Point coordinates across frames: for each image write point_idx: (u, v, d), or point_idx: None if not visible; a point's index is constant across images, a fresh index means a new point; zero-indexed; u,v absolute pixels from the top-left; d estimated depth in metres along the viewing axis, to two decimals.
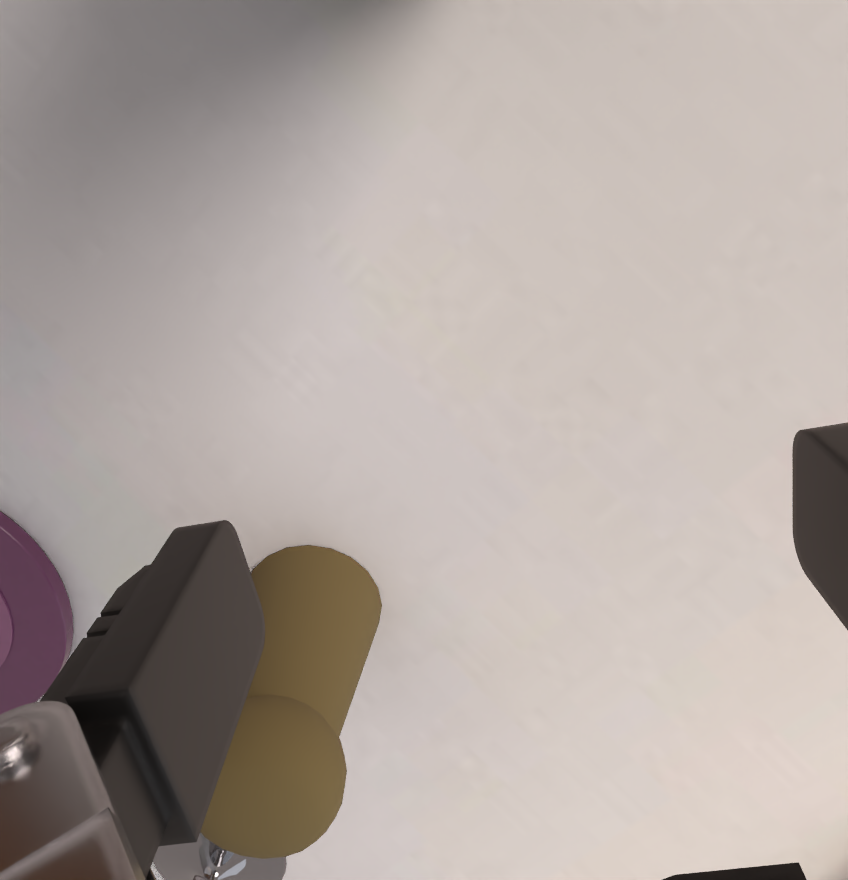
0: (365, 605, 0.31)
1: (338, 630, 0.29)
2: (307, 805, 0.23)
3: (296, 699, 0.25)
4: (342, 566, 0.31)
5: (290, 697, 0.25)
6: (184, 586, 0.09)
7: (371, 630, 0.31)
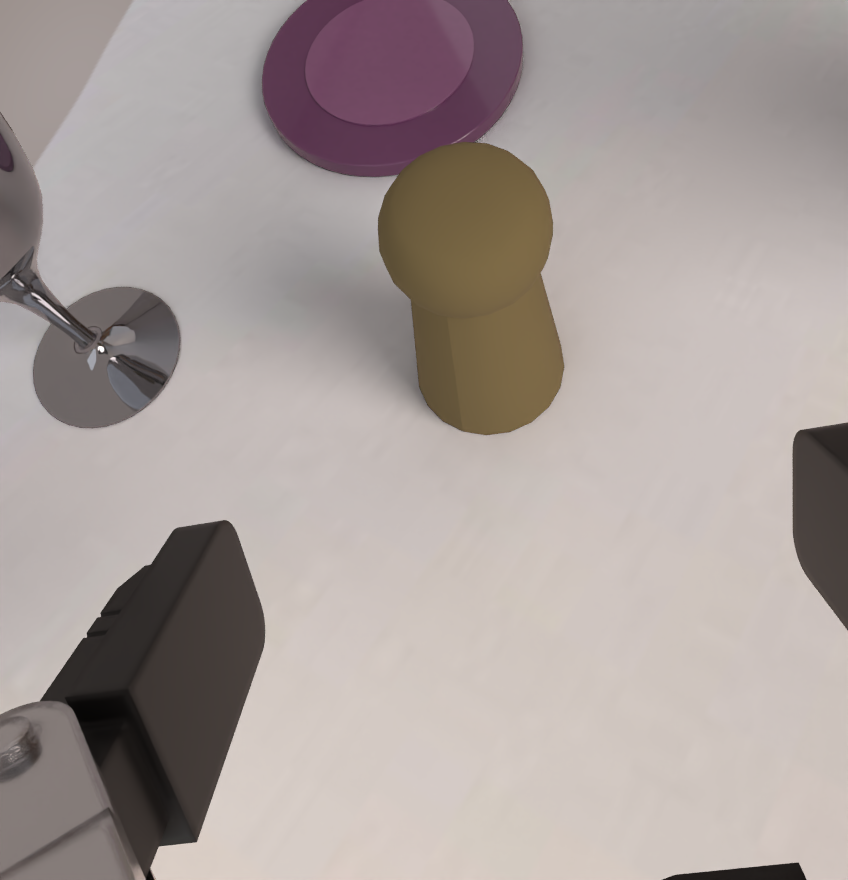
0: (533, 396, 0.29)
1: (542, 345, 0.27)
2: (493, 239, 0.21)
3: None
4: (558, 373, 0.30)
5: None
6: (184, 586, 0.09)
7: (508, 406, 0.28)
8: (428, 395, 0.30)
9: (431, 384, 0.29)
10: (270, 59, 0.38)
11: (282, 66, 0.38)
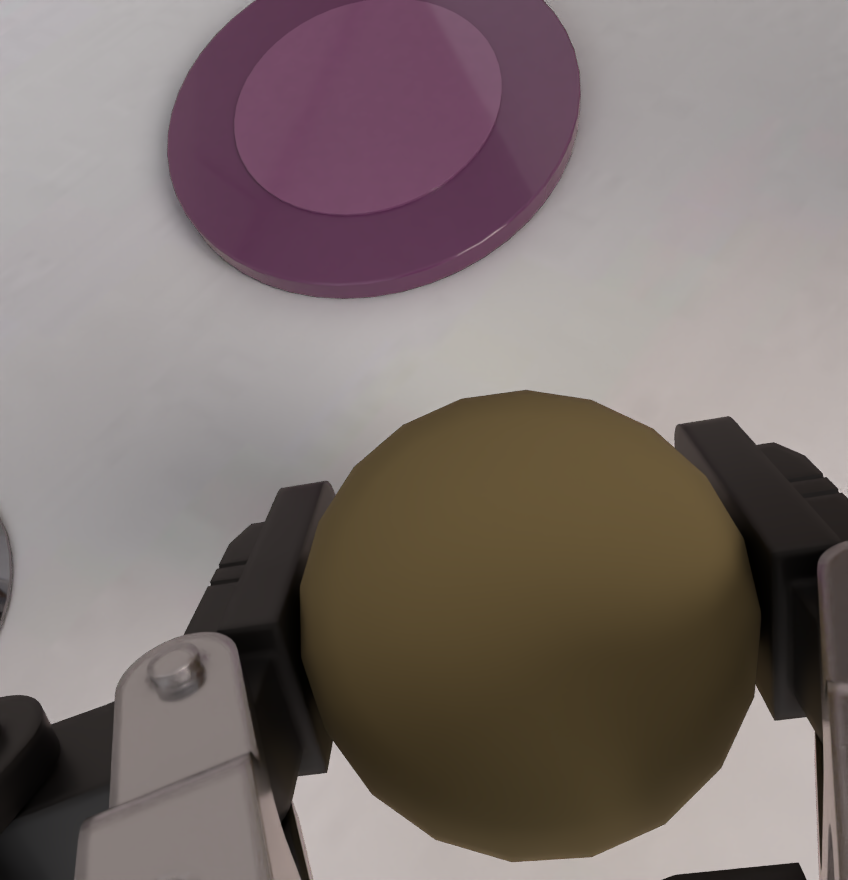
0: None
1: None
2: (625, 747, 0.07)
3: None
4: None
5: None
6: (305, 536, 0.10)
7: None
8: None
9: None
10: (182, 102, 0.25)
11: (200, 114, 0.24)
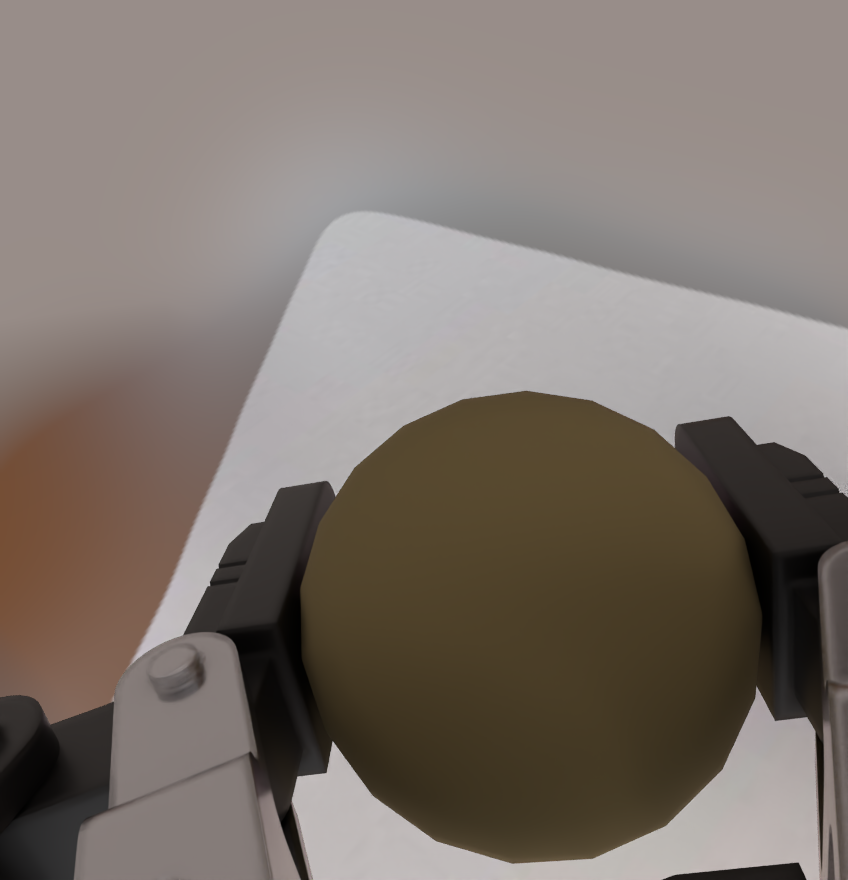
0: None
1: None
2: (627, 749, 0.07)
3: None
4: None
5: None
6: (305, 536, 0.10)
7: None
8: None
9: None
10: None
11: None
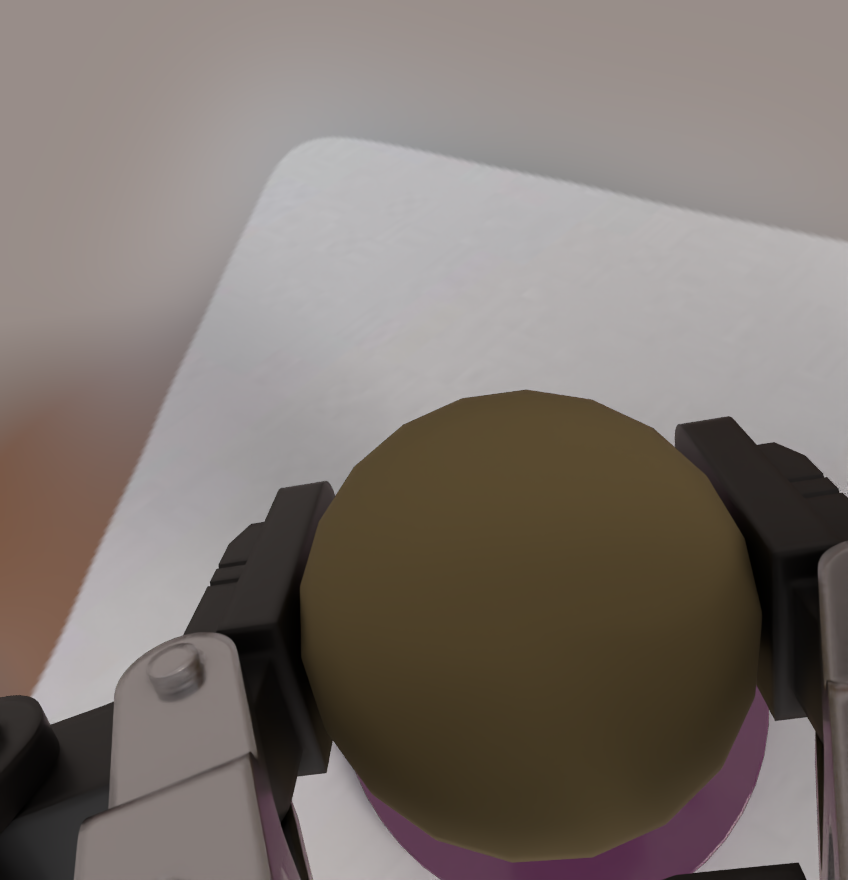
0: None
1: None
2: (627, 748, 0.07)
3: None
4: None
5: None
6: (305, 536, 0.10)
7: None
8: None
9: None
10: None
11: None
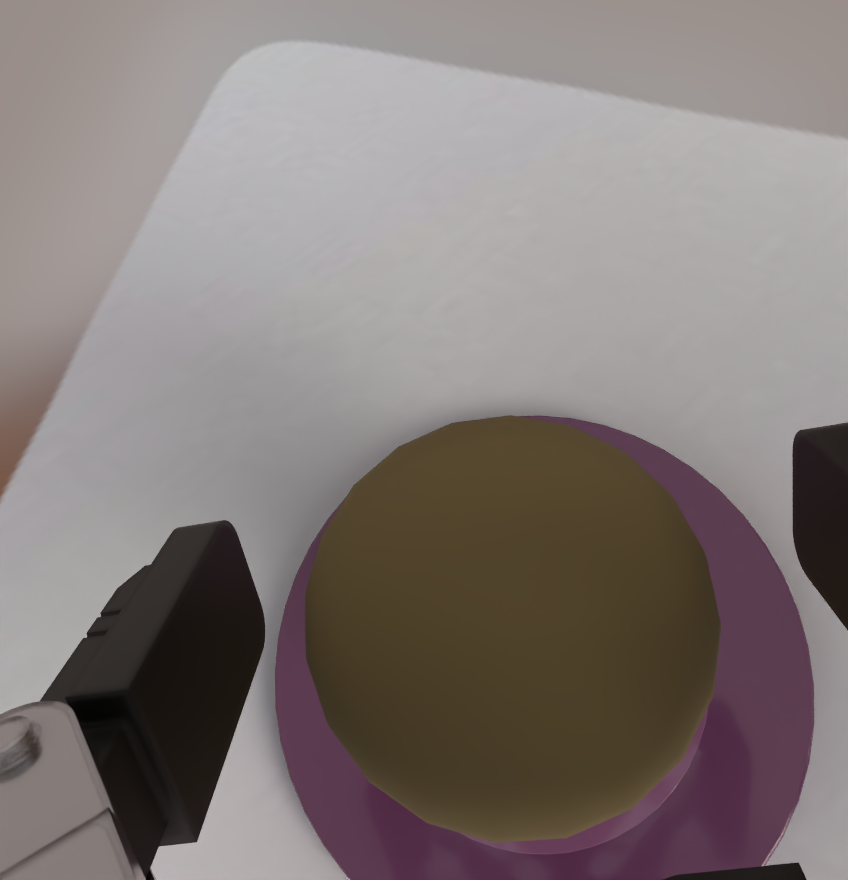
0: None
1: None
2: (594, 739, 0.08)
3: None
4: None
5: None
6: (184, 586, 0.09)
7: None
8: None
9: None
10: (291, 625, 0.20)
11: None
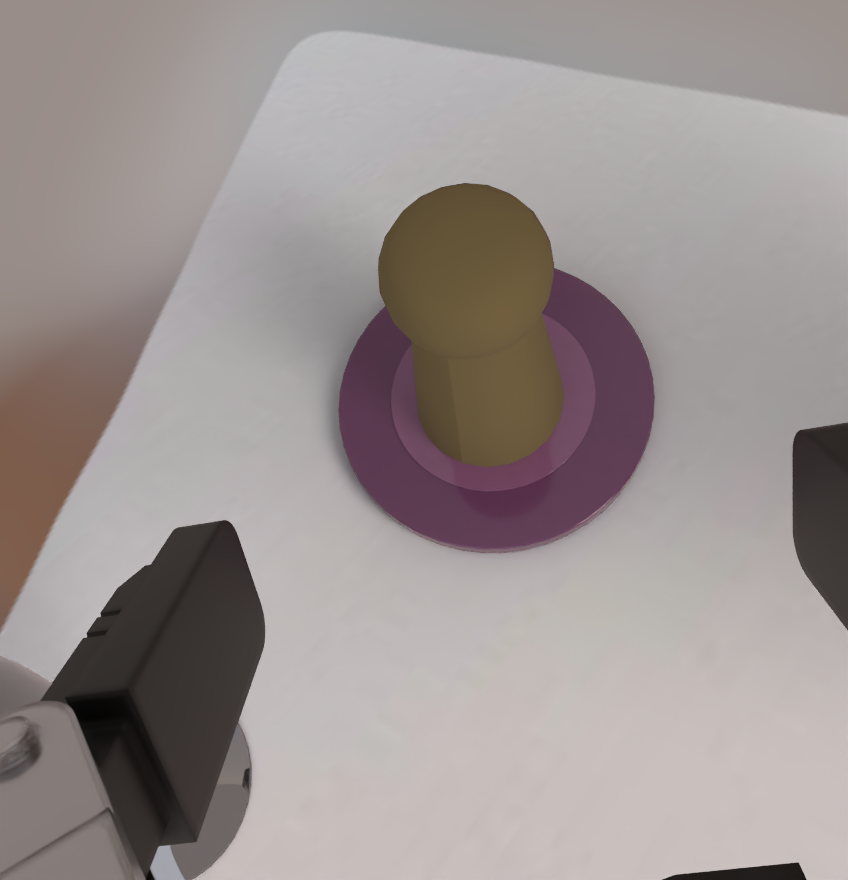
0: (533, 429, 0.29)
1: (542, 380, 0.27)
2: (494, 284, 0.20)
3: None
4: (558, 405, 0.30)
5: None
6: (184, 586, 0.09)
7: (508, 440, 0.28)
8: (428, 427, 0.30)
9: (430, 417, 0.29)
10: (348, 383, 0.32)
11: (363, 394, 0.32)
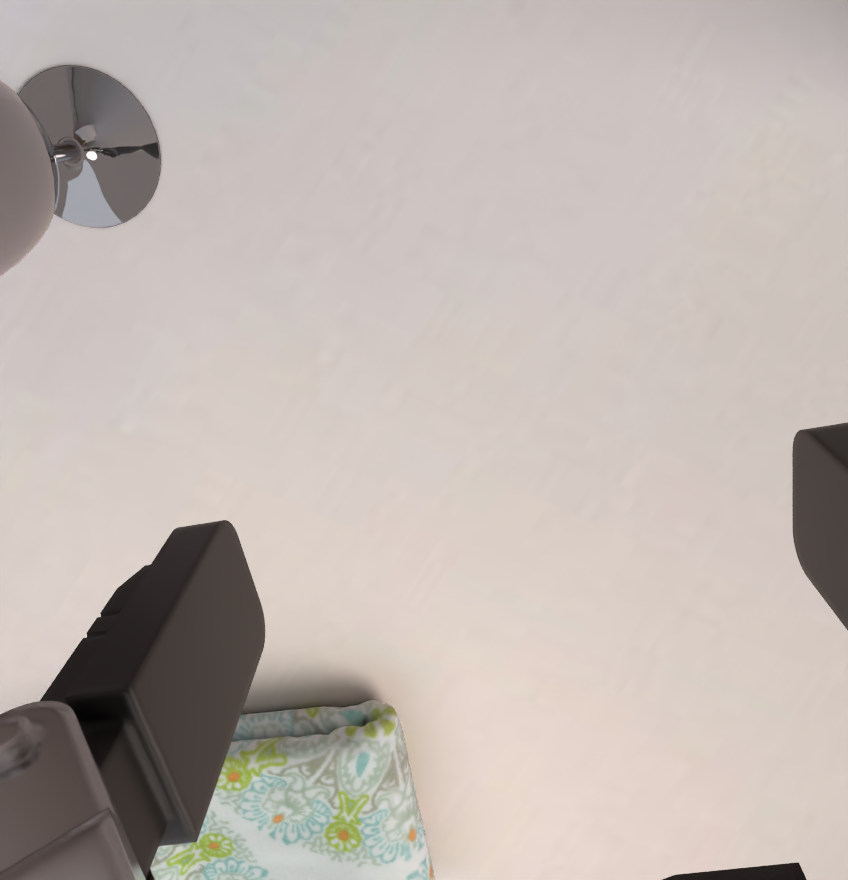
0: None
1: None
2: None
3: None
4: None
5: None
6: (184, 586, 0.09)
7: None
8: None
9: None
10: None
11: None
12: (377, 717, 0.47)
